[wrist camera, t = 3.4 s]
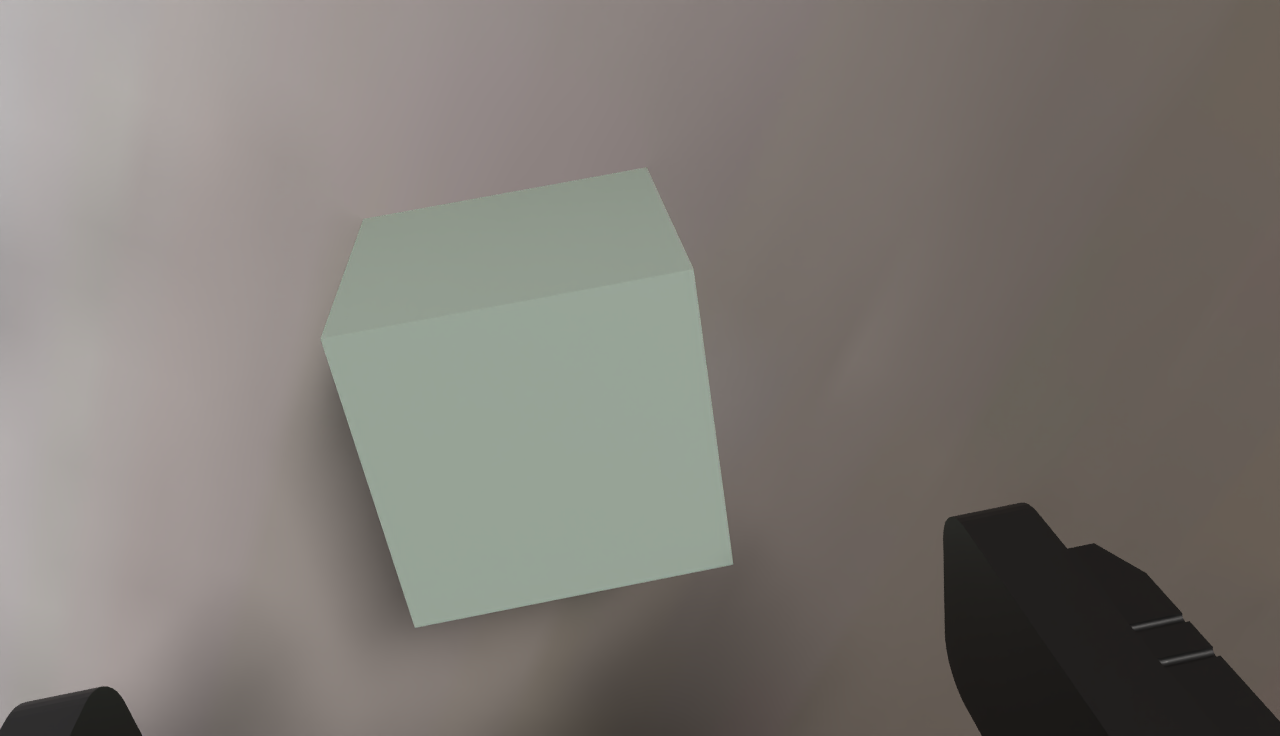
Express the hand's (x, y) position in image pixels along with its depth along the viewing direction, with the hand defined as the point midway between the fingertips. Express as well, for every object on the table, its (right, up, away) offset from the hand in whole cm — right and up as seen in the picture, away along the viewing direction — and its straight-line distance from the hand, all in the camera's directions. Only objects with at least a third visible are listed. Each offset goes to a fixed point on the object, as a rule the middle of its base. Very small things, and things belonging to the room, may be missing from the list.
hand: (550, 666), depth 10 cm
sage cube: (-1, +4, +7) cm, 8 cm away
